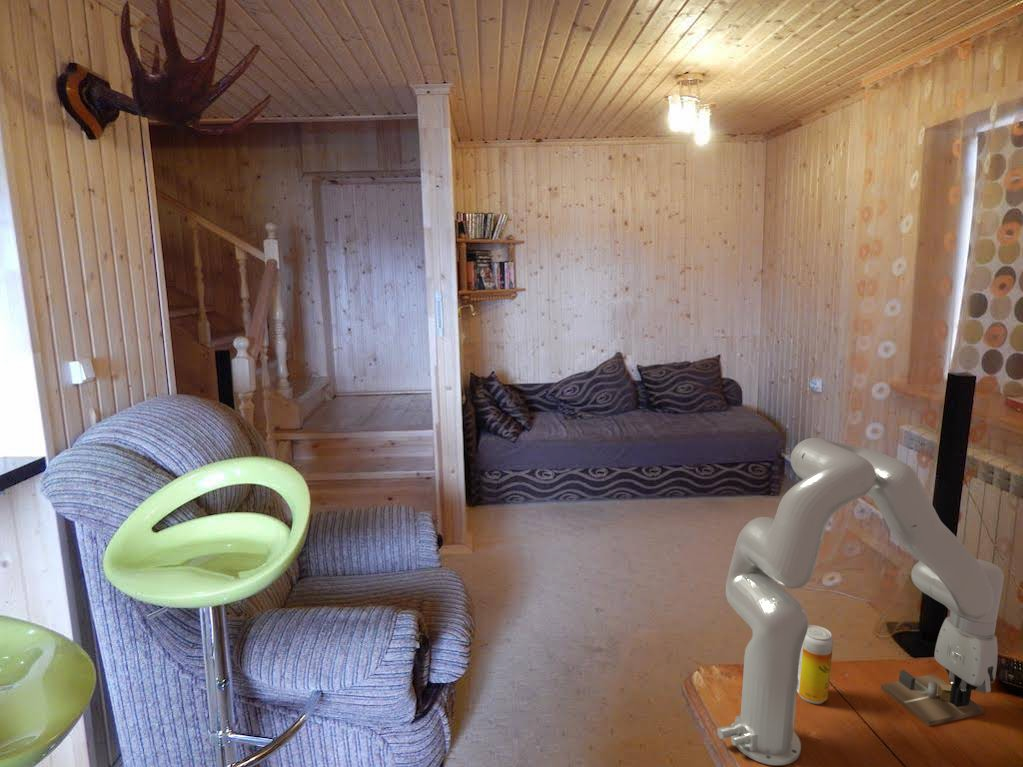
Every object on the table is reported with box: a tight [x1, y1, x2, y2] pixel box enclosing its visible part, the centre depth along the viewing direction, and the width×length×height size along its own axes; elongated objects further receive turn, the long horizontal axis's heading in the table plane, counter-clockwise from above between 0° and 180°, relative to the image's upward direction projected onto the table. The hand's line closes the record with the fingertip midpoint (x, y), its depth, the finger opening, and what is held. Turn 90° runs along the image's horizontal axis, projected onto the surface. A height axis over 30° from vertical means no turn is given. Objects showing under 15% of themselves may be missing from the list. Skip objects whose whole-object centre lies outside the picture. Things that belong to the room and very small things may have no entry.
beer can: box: [797, 624, 834, 705], centre depth 139 cm, size 6×6×15 cm
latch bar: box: [938, 684, 952, 701], centre depth 137 cm, size 5×2×3 cm, turn 74°
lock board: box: [880, 669, 985, 727], centre depth 138 cm, size 14×12×4 cm
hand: (958, 703), depth 134 cm, fingers closed
